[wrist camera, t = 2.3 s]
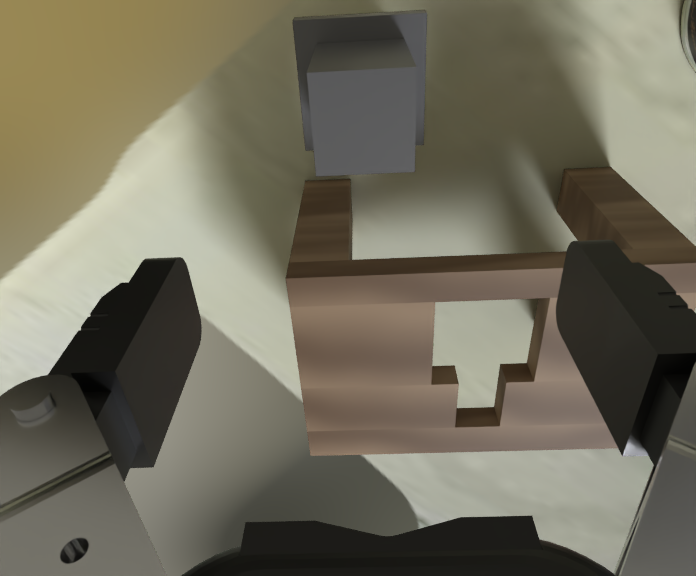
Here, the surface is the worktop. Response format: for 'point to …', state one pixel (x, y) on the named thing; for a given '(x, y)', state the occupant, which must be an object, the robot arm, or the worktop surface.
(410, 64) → the keyhole peg
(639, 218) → the shelf
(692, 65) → the coffee can
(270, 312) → the worktop surface
